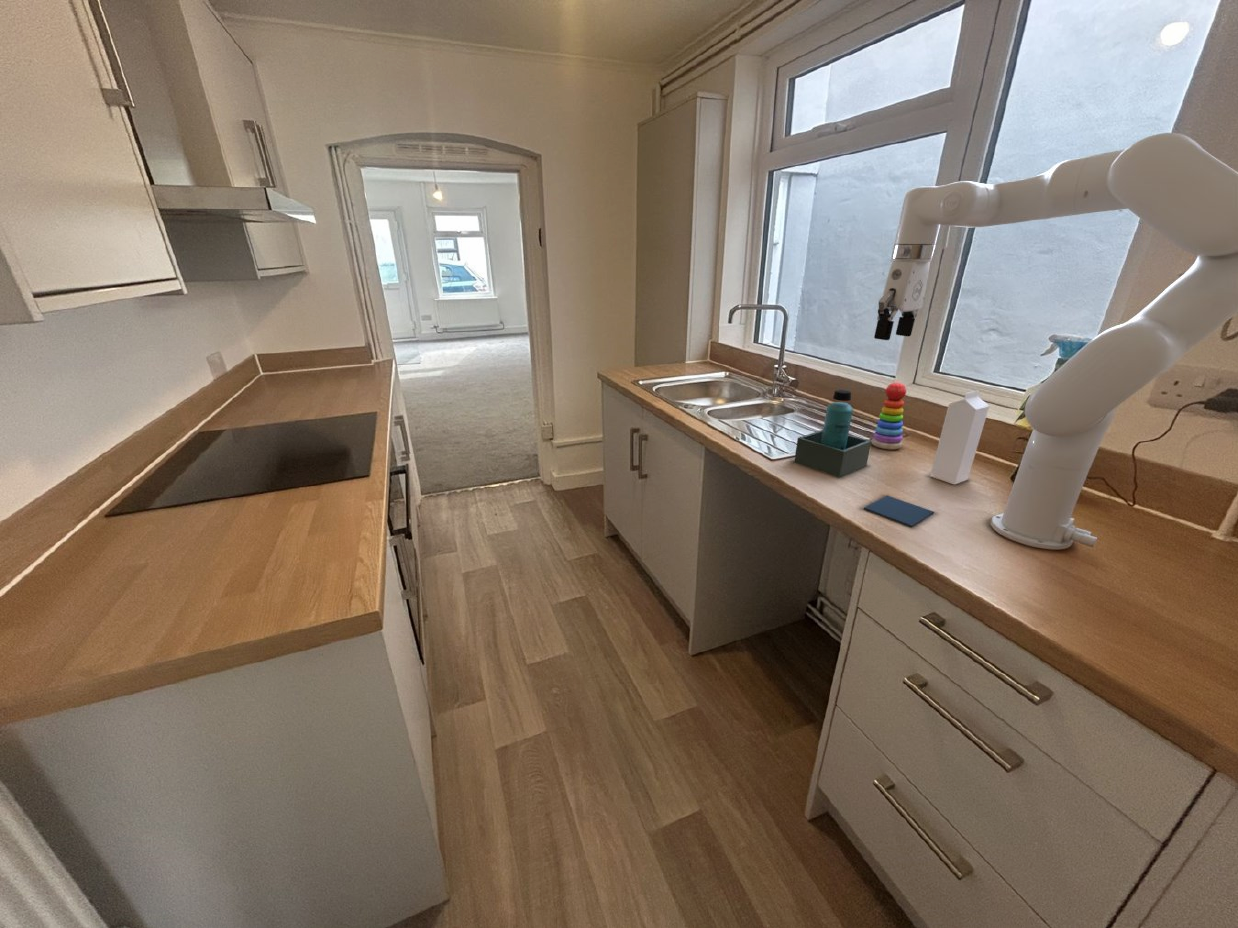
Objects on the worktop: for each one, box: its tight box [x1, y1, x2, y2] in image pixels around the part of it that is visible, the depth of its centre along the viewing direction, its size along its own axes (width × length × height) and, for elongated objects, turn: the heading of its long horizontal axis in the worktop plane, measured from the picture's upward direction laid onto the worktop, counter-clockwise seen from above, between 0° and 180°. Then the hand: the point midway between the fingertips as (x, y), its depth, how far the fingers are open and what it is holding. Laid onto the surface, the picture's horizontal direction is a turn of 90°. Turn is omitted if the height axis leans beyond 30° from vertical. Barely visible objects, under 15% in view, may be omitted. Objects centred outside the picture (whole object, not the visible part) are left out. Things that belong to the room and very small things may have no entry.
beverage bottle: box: [821, 389, 854, 450], centre depth 125 cm, size 6×7×20 cm
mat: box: [863, 495, 935, 528], centre depth 104 cm, size 10×10×1 cm
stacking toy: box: [871, 382, 907, 451], centre depth 138 cm, size 8×8×19 cm
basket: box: [793, 429, 872, 478], centre depth 128 cm, size 13×13×7 cm
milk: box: [929, 389, 990, 485], centre depth 116 cm, size 6×6×22 cm
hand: (892, 337), depth 108 cm, fingers open, 9 cm apart
